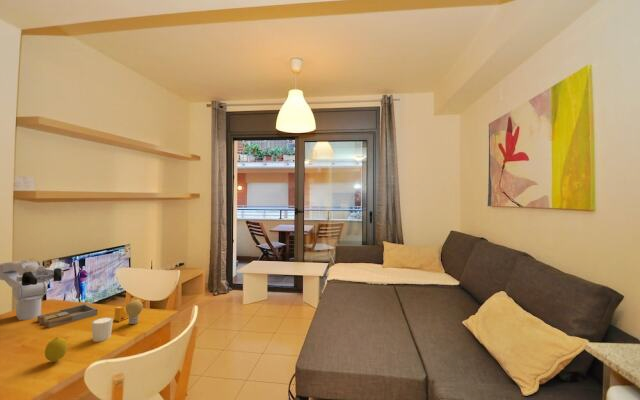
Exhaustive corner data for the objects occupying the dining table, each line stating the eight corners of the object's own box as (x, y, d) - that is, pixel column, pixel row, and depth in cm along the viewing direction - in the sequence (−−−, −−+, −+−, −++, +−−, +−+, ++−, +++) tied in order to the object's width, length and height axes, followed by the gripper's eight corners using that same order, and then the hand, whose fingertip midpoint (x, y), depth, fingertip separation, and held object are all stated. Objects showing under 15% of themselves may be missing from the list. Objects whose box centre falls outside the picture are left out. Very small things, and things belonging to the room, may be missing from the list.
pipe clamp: (133, 312, 139) (134, 298, 139) (141, 313, 138) (141, 299, 138) (110, 321, 127) (111, 307, 127) (119, 323, 126) (119, 308, 126)
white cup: (116, 336, 114) (117, 318, 114) (98, 343, 108) (99, 325, 108) (104, 332, 116) (105, 315, 116) (86, 340, 110) (87, 322, 110)
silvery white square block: (55, 319, 125) (55, 314, 125) (65, 317, 128) (65, 311, 128) (59, 321, 123) (59, 316, 123) (69, 319, 126) (69, 313, 126)
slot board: (37, 322, 123) (37, 316, 123) (84, 310, 138) (84, 304, 138) (49, 330, 117) (49, 322, 117) (97, 316, 132) (97, 310, 132)
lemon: (53, 357, 98) (54, 333, 98) (71, 357, 98) (72, 333, 98) (39, 366, 92) (40, 341, 92) (57, 366, 93) (58, 341, 93)
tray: (59, 315, 129) (60, 310, 129) (84, 309, 138) (85, 304, 138) (71, 321, 124) (71, 315, 124) (97, 314, 132) (97, 309, 132)
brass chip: (43, 322, 121) (43, 317, 122) (53, 320, 125) (54, 314, 125) (47, 325, 120) (47, 319, 120) (57, 322, 123) (58, 316, 123)
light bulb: (143, 319, 130) (144, 297, 130) (139, 325, 124) (140, 302, 124) (127, 321, 128) (128, 298, 128) (122, 327, 122) (123, 303, 122)
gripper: (14, 266, 118) (25, 273, 111) (59, 262, 131) (71, 267, 124) (12, 283, 118) (23, 291, 111) (57, 277, 131) (69, 284, 124)
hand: (48, 280), depth 118 cm, fingers open, 7 cm apart
